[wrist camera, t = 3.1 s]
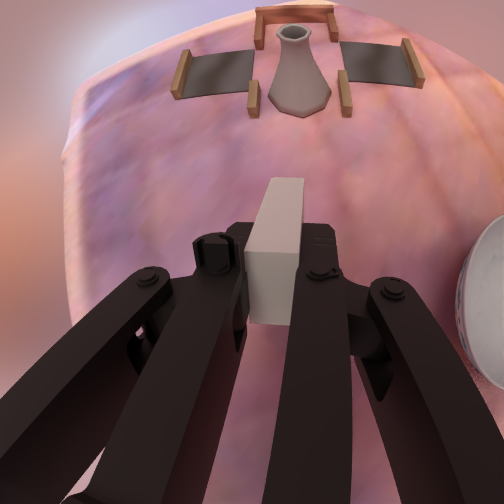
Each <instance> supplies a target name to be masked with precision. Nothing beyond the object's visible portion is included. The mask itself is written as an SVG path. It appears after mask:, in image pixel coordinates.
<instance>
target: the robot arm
mask: <svg viewBox="0 0 504 504" xmlns="http://www.w3.org/2000/svg"><path fill="white" fill-rule="evenodd" d="M192 244H193V250H194V256H195V261H196V267H197V268H196V270H195V271H194V273H193V275H191V276H187V277H180V278H173V279H170V275H169V273H168V271H167V270H166V269H164V268H162V267H155V266H152V267H145V268H143V269H140V270H138V271H136V272H135V273H133V274H132V275H130V276H129V277H128V278H127V279H126V280H125V281H123V282H122V283H121V284H120V285H119V286H118V287H117V288H115V289H114V290H113V291H112V292H111V293H110V294H109V295H108V296H106V297H105V298H104V299H103V300H102V301H101V302H100V303H99V304H97V305H96V306H95V307H94V308H93V309H92V310H91V311H90V312H89V313H88V314H86V315H85V316H84V317H83V318H82V319H81V320H80V321H79V322H78V323H77V324H76V325H74V326H73V327H72V328H71V329H70V330H69V331H68V332H67V333H66V334H65V335H64V336H63V337H62V338H61V339H60V340H59V341H58V342H56V343H55V344H54V345H53V346H52V347H51V348H50V349H49V350H48V351H47V352H46V353H45V354H44V355H43V356H42V357H41V358H40V359H39V360H38V361H37V362H36V363H35V364H34V365H33V366H32V367H31V368H30V369H29V370H28V371H27V372H26V373H25V374H24V375H23V376H22V377H21V378H20V379H19V380H18V381H17V382H16V383H15V384H14V385H13V386H12V387H11V388H10V389H9V391H8V392H7V393H6V394H5V395H4V396H3V397H2V398H1V399H0V504H60V503H61V504H202V502H203V499H204V495H205V492H206V488H207V484H208V481H209V477H210V474H211V470H212V466H213V463H214V459H215V455H216V452H217V448H218V444H219V440H220V437H221V433H222V429H223V426H224V422H225V418H226V414H227V411H228V407H229V403H230V399H231V395H232V392H233V388H234V384H235V380H236V376H237V372H238V368H239V365H240V361H241V357H242V353H243V349H244V345H245V341H246V337H247V324H246V322H247V318H248V314H249V318H250V323H257V324H271V325H286V326H290V327H289V336H288V343H287V351H286V359H285V366H284V373H283V380H282V387H281V394H280V401H279V407H278V414H277V420H276V426H275V432H274V438H273V444H272V450H271V456H270V462H269V467H268V473H267V478H266V483H265V489H264V494H263V499H262V504H350V495H351V475H352V382H351V360H350V355H353V356H354V360H355V363H356V366H357V368H358V371H359V374H360V376H361V379H362V382H363V385H364V388H365V390H366V393H367V396H368V399H369V402H370V405H371V407H372V410H373V413H374V416H375V419H376V422H377V425H378V428H379V431H380V434H381V437H382V440H383V443H384V446H385V450H386V453H387V456H388V459H389V462H390V466H391V469H392V472H393V476H394V479H395V482H396V486H397V489H398V493H399V496H400V500H401V503H402V504H504V439H503V437H502V435H501V433H500V431H499V429H498V427H497V424H496V422H495V420H494V418H493V416H492V414H491V412H490V411H489V409H488V407H487V405H486V403H485V401H484V399H483V397H482V395H481V394H480V392H479V390H478V388H477V386H476V385H475V383H474V381H473V379H472V377H471V376H470V374H469V372H468V371H467V369H466V367H465V365H464V364H463V362H462V360H461V359H460V357H459V356H458V354H457V352H456V351H455V349H454V347H453V346H452V344H451V343H450V341H449V339H448V338H447V336H446V335H445V333H444V332H443V330H442V329H441V327H440V326H439V324H438V323H437V321H436V319H435V318H434V317H433V315H432V314H431V312H430V311H429V309H428V308H427V306H426V305H425V303H424V302H423V300H422V299H421V298H420V296H419V295H418V293H417V292H416V291H415V289H414V288H413V287H412V286H411V285H410V284H409V283H407V282H406V281H404V280H402V279H399V278H395V277H382V278H378V279H376V280H374V281H373V282H372V283H371V285H370V287H366V286H362V285H358V284H355V283H353V282H351V281H349V280H347V279H346V278H345V277H344V276H343V273H342V270H341V269H340V268H339V263H338V254H337V246H336V237H335V230H334V229H333V228H332V227H331V226H330V225H329V224H317V223H304V178H280V177H272V178H271V180H270V183H269V186H268V188H267V191H266V193H265V196H264V199H263V201H262V204H261V207H260V209H259V212H258V215H257V217H256V220H255V222H236V223H234V224H233V225H231V226H230V227H229V228H228V229H227V231H226V232H225V233H223V232H218V233H210V234H206V235H203V236H201V237H199V238H197V239H196V240H195V241H194V242H193V243H192ZM140 327H142V329H143V333H142V334H141V335H139V336H138V337H137V336H136V334H135V333H136V332H137V330H138V329H139V328H140ZM105 446H106V447H105ZM104 447H105V449H104ZM103 449H104V451H103V454H102V456H101V459H100V460H99V462H98V465H97V467H96V469H95V471H94V474H93V476H92V478H91V480H90V483H89V485H88V486H87V488H86V489H85V490H84V491H83V492H80V493H77V494H74V495H71V496H69V497H67V498H66V499H65V500H64V501H62V500H63V499H64V498H65V496H66V495H67V494H68V493H69V492H70V490H71V489H72V488H73V486H74V485H75V484H76V483H77V481H78V480H79V479H80V478H81V476H82V475H83V474H84V473H85V471H86V470H87V469H88V468H89V466H90V465H91V464H92V463H93V461H94V460H95V459H96V457H97V456H98V455H99V454H100V452H101V451H102V450H103Z"/></svg>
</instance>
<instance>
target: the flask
mask: <svg viewBox="0 0 504 504" xmlns="http://www.w3.org/2000/svg"><path fill="white" fill-rule="evenodd" d="M276 35H277V37H278V38H280V41H281V56H280V62H279V65H278V68H277V71H276V74H275V77H274V80H273V83H272V85H271V88H270V91H269V94H268V98H269V99H270V100H271V101H272V102H273V103H274V105H275V106H276V107H277V108H278V109H279V111H281V112H285V113H289V114H292V115H296V116H299V117H303V118H304V117H306V116H308V115H310V114H312V113H314V112H317V111H319V110H321V109H323V108H325V105H326V103H327V101H328V99H329V97H330V95H331V90H330V88H329V86H328V84H327V82H326V80H325V79H324V77H323V75H322V73H321V72H320V70H319V68H318V66H317V64H316V62H315V60H314V58H313V56H312V53H311V49H310V46H309V36H310V35H311V30H310V29H309V28H307V27H306V26H305V25H301V24H295V23H290V24H287V25H284V26H281V27H280V29H279V30H278V31H277V33H276Z"/></svg>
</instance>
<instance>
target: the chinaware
mask: <svg viewBox="0 0 504 504" xmlns="http://www.w3.org/2000/svg"><path fill="white" fill-rule="evenodd" d="M455 318H456V326H457V331H458V335H459V338H460V341H461V344H462V347H463V349H464V351H465V353H466V355H467V357H468V359H469V360H470V362H471V363H472V365H473V366H474V367H475V369H476V370H477V371H478V372H479V373H480V374H481V375H482V376H483V377H484V378H485V379H486V380H488V381H489V382H490V383H491V384H493V385H494V386H496V387H498V388H500V389H502V390H504V215H501V216H500V217H498V218H496V219H495V220H494V221H492V222H491V223H490V224H489V225H488V226H487V227H486V228H485V229H484V231H483V232H482V233H481V234H480V236H479V237H478V238H477V240H476V241H475V243H474V244H473V246H472V247H471V249H470V251H469V253H468V255H467V257H466V259H465V261H464V264H463V266H462V269H461V272H460V275H459V279H458V283H457V289H456V297H455Z"/></svg>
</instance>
